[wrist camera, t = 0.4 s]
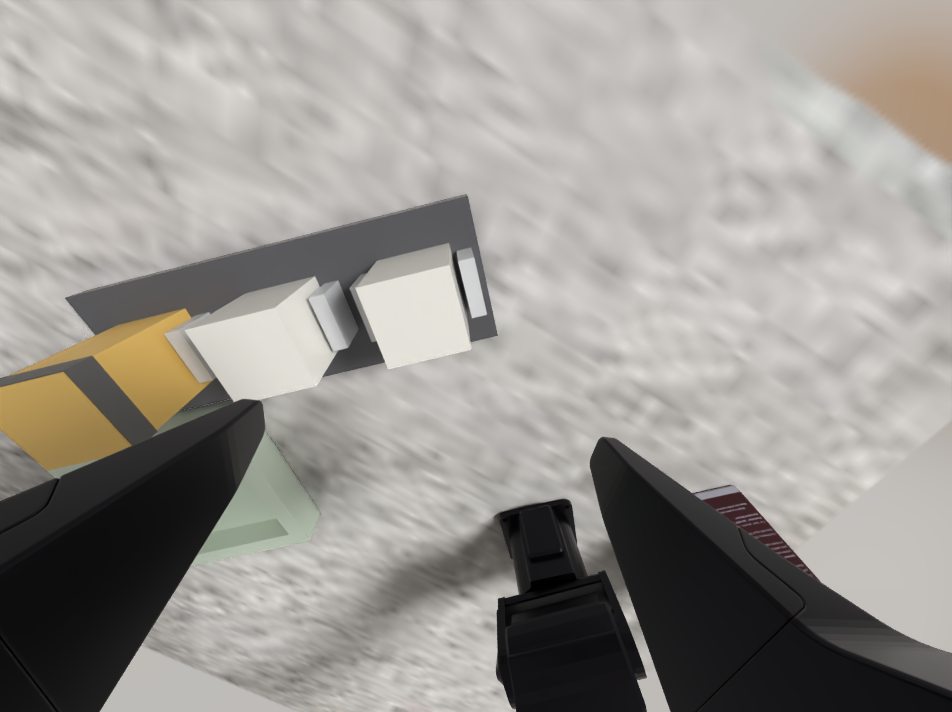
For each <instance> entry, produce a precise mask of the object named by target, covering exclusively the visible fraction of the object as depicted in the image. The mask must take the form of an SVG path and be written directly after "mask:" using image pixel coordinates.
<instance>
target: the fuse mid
mask: <svg viewBox="0 0 952 712" xmlns="http://www.w3.org/2000/svg"><path fill="white" fill-rule="evenodd" d="M319 288H320V286H319V284H318V282H317V280H316V277H315V276H314V277H310V278H306V279H302V280H297V281H293V282H289V283H285V284H281V285H277V286H273V287H269V288H265V289H261V290H257V291H253V292H249V293H245V294H244V295H242V296H240V297H239V298H237V299H235V300H234V301H232V302H230V303H229V304H227V305H225V306H224V307H222V308H220V309H219V310H217V311H215V312H214V313H212V314H210V315H209V316H207V317H205V318H204V319H202V320H200V321H199V322H197V323H195V324H194V325H192V326H190V327H189V328H187V329H185V332H186V333H187V335H188V336H189V338H190V339H191V341H192V342H193V343H194V345H195V346H196V348H197V349H198V351H199V352H200V354H201V355H202V357H203V358H204V359H205V361H206V362H207V364H208V365H209V367H210V368H211V370H212V371H213V372H214V374H215V375H216V377H217V378H218V380H219V381H220V383H221V384H222V385H223V387H224V388H225V390H226V391H227V393H228V394H229V396H230V397H231V399H232V400H233V401H234V402H236V401H238V400H241V399H252V400H260V399H264V398H268V397H272V396H277V395H281V394H285V393H290V392H294V391H298V390H302V389H307V388H311V387H315V386H317V384H318V383H319V381H320V380H321V378H322V376H323V375H324V373H325V371H326V370H327V368H328V366H329V365H330V363H331V362H332V360H333V358H334V357H335V355H336V353H337V352H338V350H337V351H333V349H332V347H331V345H330V343H329V341H328V339H327V337H326V335H325V333H324V331H323V328H322V326H321V324H320V322H319V320H318V318H317V316H316V314H315V312H314V310H313V308H312V305H311V303H310V301H309V299H308V298H309V297H310V296H311V295H312V294H313V293H314V292H315V291H317V290H318V289H319Z"/></svg>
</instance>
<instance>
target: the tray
mask: <svg viewBox="0 0 952 712" xmlns="http://www.w3.org/2000/svg"><path fill="white" fill-rule="evenodd" d="M233 402H234V401H233V400H232V399H231V400H227V401H223V402H219V403H214V404H210V405H206V406H202V407H197V408H193V409H189V410H185V411H180V412H177V413H176V414H175V415H173V416H172V417H171V418H170V419H169V420H168V421H167V422H166V423H164V424H163V425H162V426H161V427H160V428H159V429H158V430H157V431H158V432H157V433H156V434H154V435H153V436H156V435H158V434H160V433H163V432H165V431H168V430H170V429H172V428H175V427H177V426H179V425H182V424H184V423H186V422H189V421H191V420H193V419H196V418H198V417H201V416H203V415H205V414H208V413H210V412H212V411H215V410H217V409H219V408H222V407H224V406H226V405H229V404H231V403H233ZM153 436H152V437H153ZM101 459H102V458H101ZM97 460H99V459H96V460H92V461H88V462H83V463H79V464H75V465H71V466H66V467H62V468H58V469H53V470H49V471H47V470H46V469H45V468H44V467H43V466H42V467H43V468H44V469H45V470H46V471H47V472H49V473H50V474H51V475H52V476H53V477H54V478H59V479H60V477H61V476H62V475H64V474H66V473H69V472H71V471H73V470H76V469H78V468H80V467H83V466H85V465H88V464H90V463H92V462H95V461H97ZM38 464H39V463H38ZM39 465H40V464H39ZM320 514H321V513H320V511H319V510H318V508H317V507H316V505H315V504H314V502H313V501H312V499H311V498H310V496H309V495H308V493H307V492H306V490H305V489H304V487H303V486H302V484H301V483H300V481H299V480H298V478H297V477H296V475H295V474H294V472H293V471H292V469H291V468H290V466H289V465H288V463H287V462H286V460H285V459H284V457H283V456H282V454H281V453H280V451H279V450H278V449H277V447H276V446H275V444H274V443H273V441H272V440H271V438H270V437H269V435H268V434H267V432H266V431H265V432H264V436H263V438H262V440H261V442H260V444H259V446H258V448H257V450H256V453H255V455H254V457H253V459H252V461H251V463H250V465H249V467H248V469H247V471H246V474H245V476H244V478H243V480H242V482H241V484H240V486H239V488H238V490H237V492H236V493H235V495H234V497H233V498H232V500H231V502H230V503H229V505H228V506H227V508H226V510H225V511H224V513H223V514H222V516H221V518H220V519H219V521H218V523H217V524H216V526H215V527H214V529H213V531H212V532H211V534H210V535H209V537H208V539H207V540H206V542H205V543H204V545H203V547H202V548H201V550H200V551H199V553H198V555H197V556H196V558H195V559H194V561H193V563H192V564H191V566H190V567H192V566H197V565H201V564H206V563H210V562H215V561H220V560H224V559H229V558H234V557H238V556H243V555H247V554H252V553H257V552H261V551H266V550H271V549H275V548H280V547H284V546H289V545H294V544H298V543H303V542H308V541H311V539H312V536H313V533H314V531H315V528H316V525H317V522H318V520H319V517H320Z"/></svg>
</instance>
